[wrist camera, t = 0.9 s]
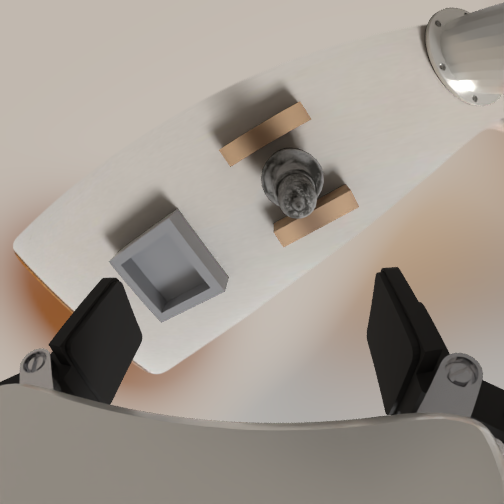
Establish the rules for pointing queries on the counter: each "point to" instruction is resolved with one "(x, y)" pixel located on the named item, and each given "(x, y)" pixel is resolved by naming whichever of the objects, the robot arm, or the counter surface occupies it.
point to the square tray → (170, 268)
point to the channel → (326, 206)
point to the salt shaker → (293, 181)
